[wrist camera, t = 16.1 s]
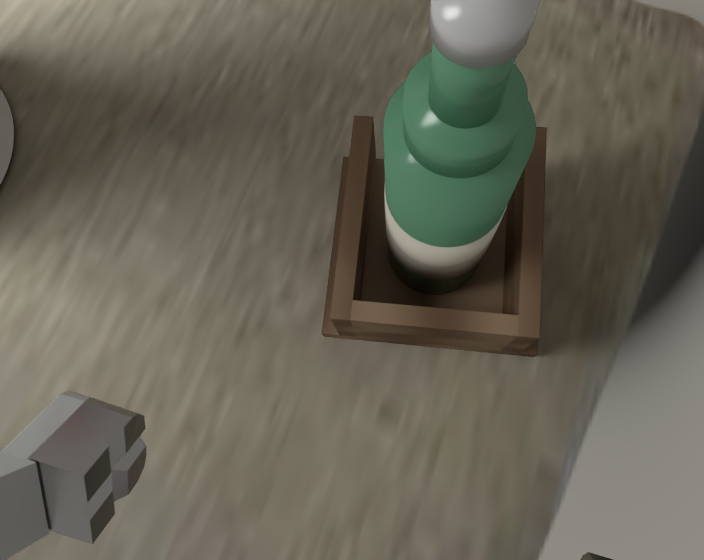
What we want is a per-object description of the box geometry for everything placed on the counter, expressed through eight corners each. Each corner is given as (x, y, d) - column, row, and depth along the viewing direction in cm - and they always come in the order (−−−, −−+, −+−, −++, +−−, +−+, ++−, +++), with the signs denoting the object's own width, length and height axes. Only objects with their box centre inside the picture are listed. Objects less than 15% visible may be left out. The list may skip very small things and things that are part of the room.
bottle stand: (323, 336, 35) (309, 316, 29) (344, 163, 38) (335, 114, 32) (533, 356, 34) (561, 340, 28) (539, 177, 37) (566, 128, 31)
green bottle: (382, 291, 34) (366, 78, 14) (390, 202, 36) (385, -104, 16) (479, 299, 34) (601, 90, 14) (484, 208, 35) (600, -99, 15)
